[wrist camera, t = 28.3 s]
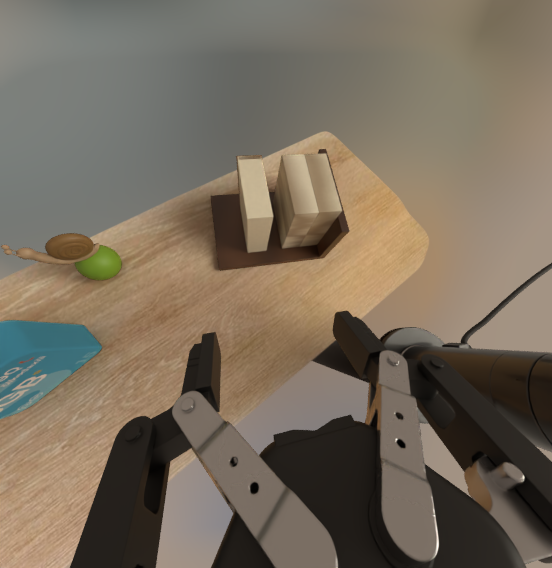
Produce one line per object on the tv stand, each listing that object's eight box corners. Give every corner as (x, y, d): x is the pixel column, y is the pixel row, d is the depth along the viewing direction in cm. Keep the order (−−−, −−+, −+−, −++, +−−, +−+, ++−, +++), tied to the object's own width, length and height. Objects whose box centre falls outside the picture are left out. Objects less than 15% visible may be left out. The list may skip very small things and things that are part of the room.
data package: (26, 411, 27) (-135, 465, 16) (7, 386, 28) (-164, 421, 16) (107, 345, 31) (22, 351, 19) (89, 324, 31) (-5, 317, 19)
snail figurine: (80, 267, 33) (-11, 230, 21) (119, 247, 34) (54, 203, 23) (96, 293, 32) (11, 270, 21) (134, 272, 34) (76, 239, 22)
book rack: (307, 193, 43) (329, 140, 31) (323, 258, 39) (354, 225, 28) (211, 198, 39) (196, 142, 28) (219, 270, 36) (206, 239, 24)
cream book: (258, 203, 39) (261, 154, 29) (266, 250, 37) (273, 216, 26) (239, 204, 39) (236, 155, 28) (247, 252, 36) (246, 218, 26)
